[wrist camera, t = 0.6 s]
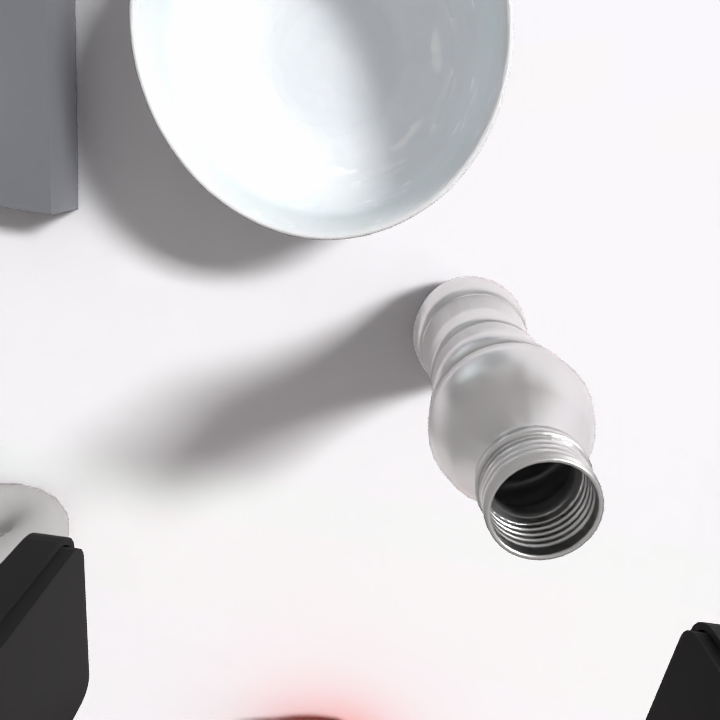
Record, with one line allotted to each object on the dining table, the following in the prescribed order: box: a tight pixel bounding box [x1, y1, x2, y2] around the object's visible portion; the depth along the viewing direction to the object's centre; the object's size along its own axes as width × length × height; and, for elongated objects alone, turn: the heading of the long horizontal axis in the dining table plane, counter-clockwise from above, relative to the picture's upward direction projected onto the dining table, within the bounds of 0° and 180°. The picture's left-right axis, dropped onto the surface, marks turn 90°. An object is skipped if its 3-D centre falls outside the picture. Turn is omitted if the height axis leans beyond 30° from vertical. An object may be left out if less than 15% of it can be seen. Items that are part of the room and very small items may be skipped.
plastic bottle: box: [413, 276, 604, 560], centre depth 27 cm, size 6×7×20 cm
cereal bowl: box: [129, 0, 514, 240], centre depth 28 cm, size 17×17×7 cm
